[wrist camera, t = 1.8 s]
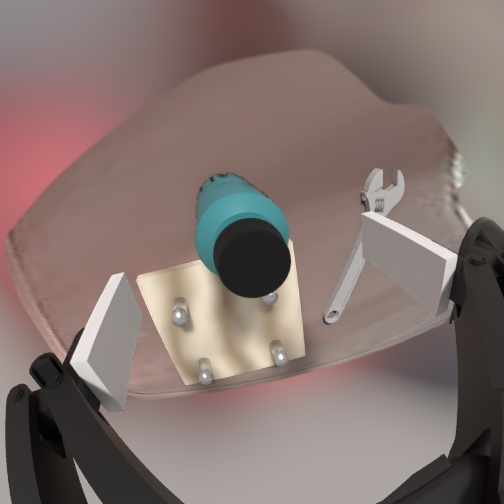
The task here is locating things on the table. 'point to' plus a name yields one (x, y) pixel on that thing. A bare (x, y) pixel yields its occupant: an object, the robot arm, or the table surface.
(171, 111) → the table surface
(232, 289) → the beverage bottle
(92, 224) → the table surface
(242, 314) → the birch board
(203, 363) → the steel pegs
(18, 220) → the table surface
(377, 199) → the adjustable wrench
